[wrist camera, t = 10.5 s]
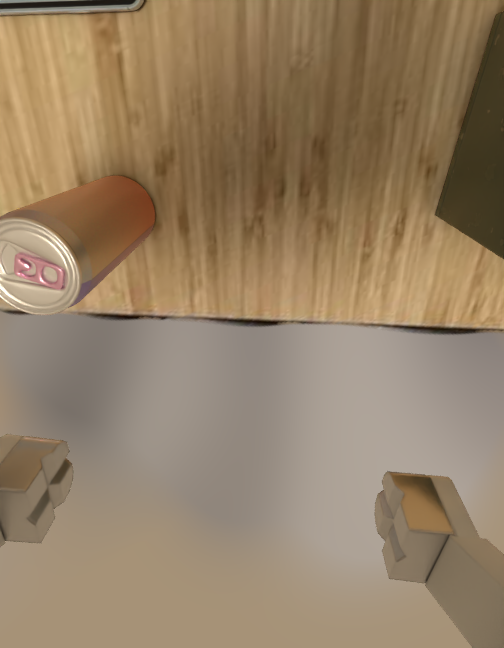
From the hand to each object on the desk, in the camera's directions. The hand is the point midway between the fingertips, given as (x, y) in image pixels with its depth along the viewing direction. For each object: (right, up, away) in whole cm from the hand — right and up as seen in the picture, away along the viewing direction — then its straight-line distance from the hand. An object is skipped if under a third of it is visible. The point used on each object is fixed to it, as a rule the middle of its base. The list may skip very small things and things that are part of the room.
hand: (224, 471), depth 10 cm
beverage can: (-11, +14, +25) cm, 30 cm away
